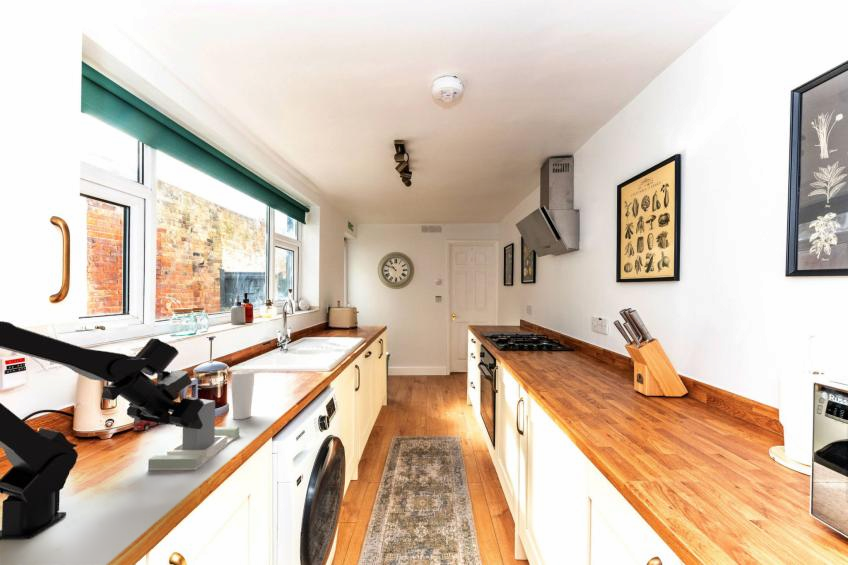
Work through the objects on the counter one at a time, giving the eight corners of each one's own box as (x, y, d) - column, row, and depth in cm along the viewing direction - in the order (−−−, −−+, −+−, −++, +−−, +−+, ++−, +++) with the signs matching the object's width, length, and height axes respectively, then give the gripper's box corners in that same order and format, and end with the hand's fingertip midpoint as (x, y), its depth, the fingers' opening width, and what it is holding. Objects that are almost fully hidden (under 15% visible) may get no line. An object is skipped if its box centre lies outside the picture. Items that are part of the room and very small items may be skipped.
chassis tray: (196, 469, 83) (196, 459, 83) (148, 470, 83) (148, 459, 83) (239, 435, 103) (239, 426, 103) (200, 435, 103) (200, 426, 103)
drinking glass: (232, 415, 120) (233, 370, 121) (254, 413, 122) (255, 369, 123) (228, 422, 114) (229, 374, 114) (251, 419, 116) (252, 373, 116)
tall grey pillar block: (196, 454, 90) (197, 406, 90) (182, 451, 91) (183, 404, 92) (214, 446, 95) (215, 400, 95) (200, 443, 96) (201, 398, 97)
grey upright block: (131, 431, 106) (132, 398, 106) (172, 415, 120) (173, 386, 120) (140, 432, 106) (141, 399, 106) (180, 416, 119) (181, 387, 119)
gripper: (197, 364, 83) (235, 399, 93) (142, 359, 89) (183, 393, 99) (161, 409, 75) (207, 442, 85) (103, 400, 81) (152, 432, 91)
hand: (187, 425), depth 90 cm, fingers open, 9 cm apart
